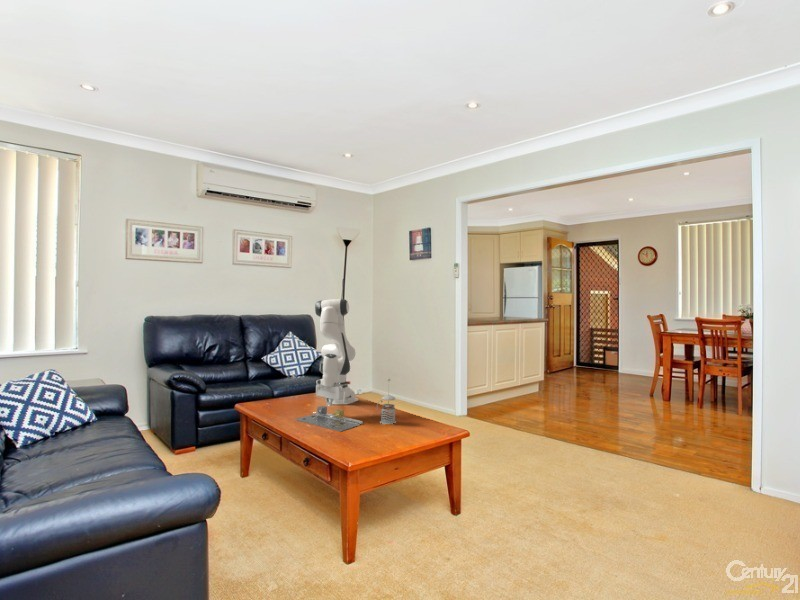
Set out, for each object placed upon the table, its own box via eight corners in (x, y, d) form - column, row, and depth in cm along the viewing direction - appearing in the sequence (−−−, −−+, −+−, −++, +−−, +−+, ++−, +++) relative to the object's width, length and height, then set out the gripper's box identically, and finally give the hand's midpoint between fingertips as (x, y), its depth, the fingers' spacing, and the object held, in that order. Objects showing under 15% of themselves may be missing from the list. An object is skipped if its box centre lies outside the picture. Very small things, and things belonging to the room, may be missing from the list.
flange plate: (313, 415, 275) (313, 414, 275) (358, 425, 254) (358, 424, 254) (295, 419, 264) (295, 418, 264) (340, 431, 242) (340, 430, 242)
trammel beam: (321, 413, 279) (321, 405, 279) (363, 423, 258) (363, 414, 258) (309, 416, 271) (309, 408, 271) (352, 427, 251) (352, 418, 251)
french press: (394, 425, 256) (395, 380, 256) (374, 423, 258) (375, 379, 258) (398, 420, 266) (399, 377, 266) (378, 419, 268) (379, 376, 268)
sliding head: (338, 414, 270) (339, 409, 270) (343, 416, 267) (343, 410, 267) (327, 418, 262) (327, 411, 262) (332, 419, 260) (332, 413, 260)
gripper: (346, 383, 267) (345, 407, 266) (322, 379, 279) (321, 402, 279) (338, 384, 262) (337, 409, 261) (314, 380, 274) (313, 403, 274)
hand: (329, 405), depth 270 cm, fingers closed
